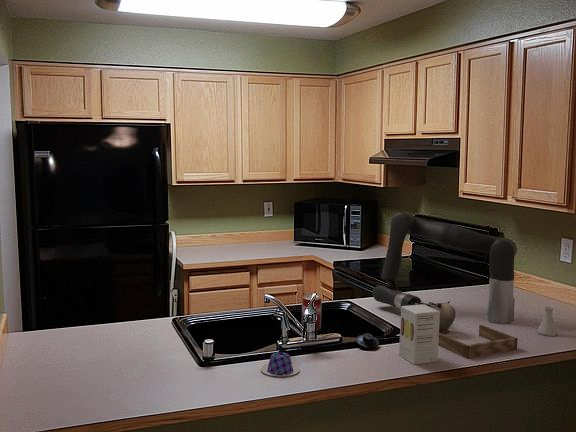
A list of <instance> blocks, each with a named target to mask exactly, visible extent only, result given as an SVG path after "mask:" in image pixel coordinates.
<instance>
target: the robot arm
mask: <svg viewBox="0 0 576 432" xmlns="http://www.w3.org/2000/svg"><path fill="white" fill-rule="evenodd" d="M407 235H410V236H414V237H415V236H416V237H420V238H425V239H426V240H429V241H432V242H434V243H437V244H438V245H440V246H444V247H448V248H451V249H456V250H460V251H461V250H462V251H472V252H473V251H475V252H481V253H484V254H487V255H489V265H488V266H489V269H488V271H489V283H488V284H489V285H488V286H489V288H488V305H487V320H488V321H489V322H491V323H496V324H501V325H502V324H511V323H513V322H514V320H515V302H516V298H515V297H514V287H515V256H516V255H517V251H518V248H517V244H516V243H515V241H513V240H512V239H511V238H507V237H499V236H495V235H494V236H493V235H490V234H489V235H488V234H483V233H480V232H477V231H474V230H471V229H468V228H465V227H462V226H458V225H453V224H450V223H444V222H439V221H430V220H425V219H422V218H420V217H417V216H414V215H412V214H410V213H408V212H402V211H401V212H397V213H395V214H394V215H393V216H392V217H391V220H390V231H389V237H388V239H389V240H388V246H387V249H386V250H387V251H386V255H385V259H384V263H383V266H382V270H381V274H380V275H381V276H380V277H381V279H382V280H384V281H386V284H387V285H383V284H378V285H376V286H375V287H373V289H372V292H371V293H372V294H371V295H372V298H373V299H374V300H375V301H376V302H379V303H382V304H386V305H389V306H392V307H393V308H396V309H399V310H400V311H401V306H411V305H423V304H424V305H426V306H428V307H431V308H432V307H434V306H435V305H436V304H437V303H434V302H432V301H429V302H428V303H427V302H424V301H422V300H421V298H420V297H419V296H416V295H414V294H411V293H407V292H404V291H401V290H398V278H399V272H400V270H401V264H402V257H403V256H402V255H403V246H404V243H405V240H406V237H407Z"/></svg>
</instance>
